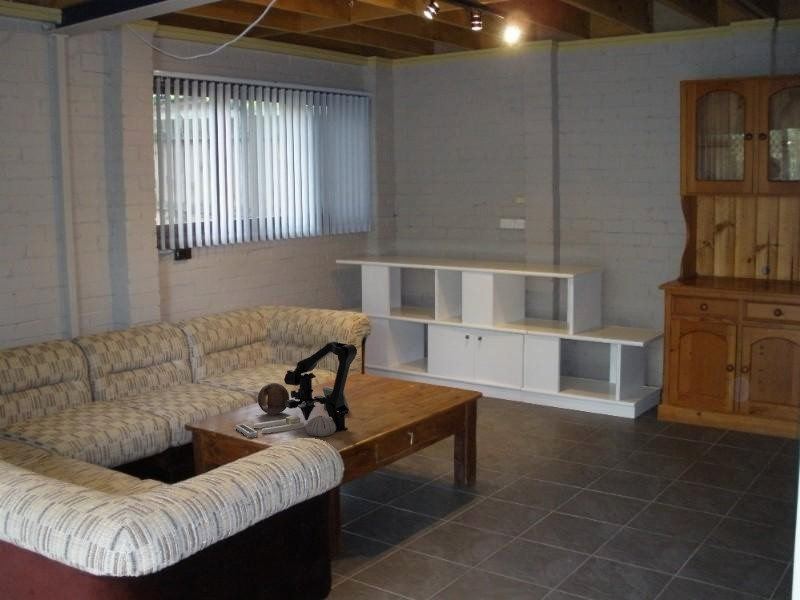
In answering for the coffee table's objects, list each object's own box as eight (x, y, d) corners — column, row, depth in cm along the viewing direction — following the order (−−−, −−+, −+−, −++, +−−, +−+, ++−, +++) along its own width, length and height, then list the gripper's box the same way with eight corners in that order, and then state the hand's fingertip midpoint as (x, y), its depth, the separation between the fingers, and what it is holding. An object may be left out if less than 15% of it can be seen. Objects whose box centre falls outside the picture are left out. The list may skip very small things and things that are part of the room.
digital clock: (350, 412, 434) (350, 390, 433) (333, 414, 430) (333, 392, 429) (336, 404, 448) (336, 383, 447) (320, 407, 444) (319, 386, 443)
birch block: (300, 426, 410) (300, 417, 409) (290, 428, 407) (290, 419, 407) (295, 424, 414) (295, 415, 413) (285, 425, 411) (285, 417, 411)
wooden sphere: (278, 408, 442) (277, 378, 440) (295, 414, 431) (295, 383, 429) (252, 413, 432) (251, 383, 430) (269, 419, 421) (268, 388, 419)
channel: (304, 427, 407) (304, 423, 407) (263, 434, 397) (262, 429, 397) (294, 422, 417) (293, 417, 416) (253, 428, 406) (253, 424, 406)
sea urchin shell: (341, 431, 401) (341, 413, 400) (328, 439, 389) (327, 421, 387) (314, 428, 406) (314, 411, 405) (300, 436, 393) (300, 418, 392)
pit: (257, 436, 393) (257, 432, 393) (249, 438, 391) (249, 433, 391) (244, 428, 407) (244, 423, 406) (235, 429, 405) (235, 425, 404)
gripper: (316, 381, 423) (317, 413, 425) (279, 386, 414) (280, 419, 416) (327, 385, 414) (327, 418, 416) (289, 390, 404) (290, 424, 406)
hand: (306, 420), depth 414 cm, fingers closed
